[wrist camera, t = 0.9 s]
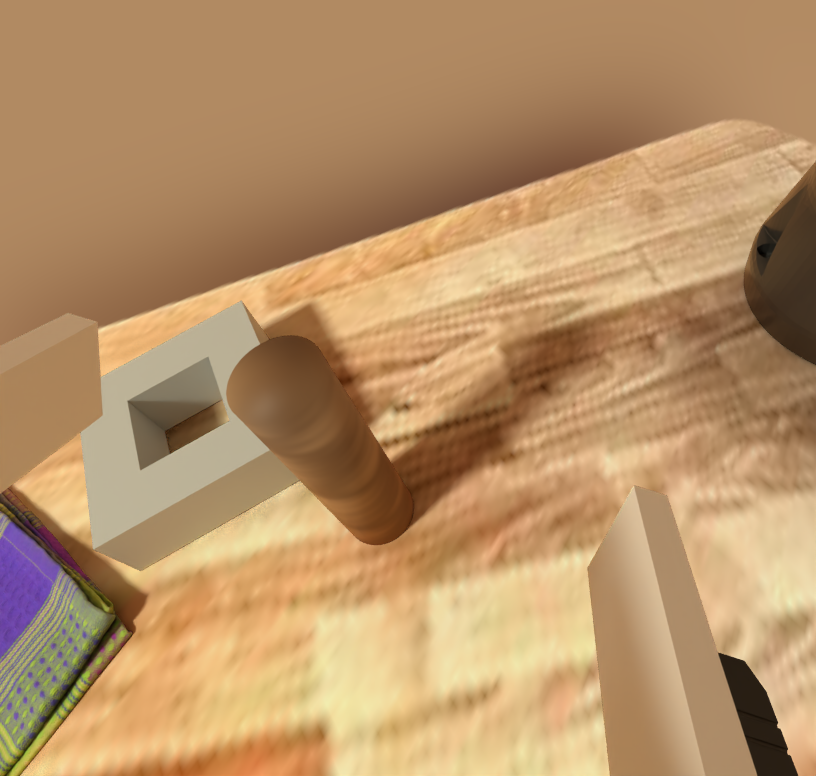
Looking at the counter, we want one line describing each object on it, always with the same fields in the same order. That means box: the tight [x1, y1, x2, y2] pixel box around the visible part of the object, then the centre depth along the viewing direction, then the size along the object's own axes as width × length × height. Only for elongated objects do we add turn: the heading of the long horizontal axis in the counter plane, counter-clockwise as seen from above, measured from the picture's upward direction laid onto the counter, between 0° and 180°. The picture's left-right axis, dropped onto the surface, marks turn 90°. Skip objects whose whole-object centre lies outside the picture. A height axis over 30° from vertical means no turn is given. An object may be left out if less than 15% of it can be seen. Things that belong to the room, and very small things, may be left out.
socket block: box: [81, 301, 299, 571], centre depth 40 cm, size 14×14×4 cm
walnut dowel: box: [226, 336, 414, 545], centre depth 30 cm, size 4×4×15 cm
